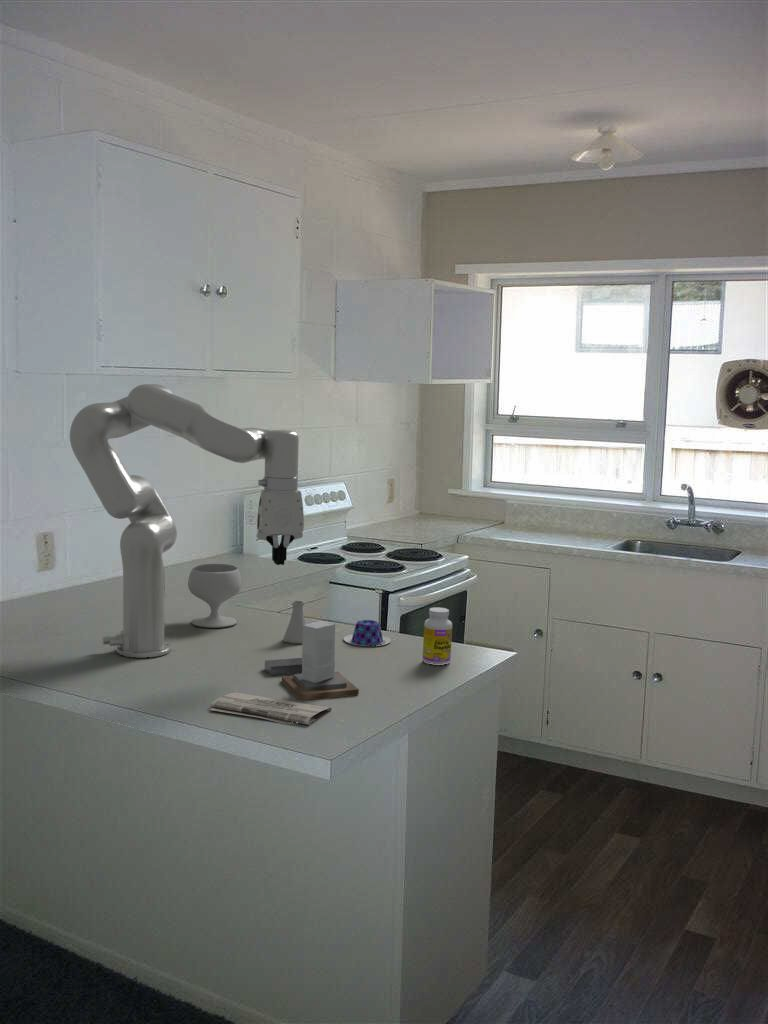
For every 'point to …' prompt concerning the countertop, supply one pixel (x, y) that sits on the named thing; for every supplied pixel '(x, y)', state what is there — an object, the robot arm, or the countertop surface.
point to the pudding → (367, 634)
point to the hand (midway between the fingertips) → (279, 563)
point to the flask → (295, 624)
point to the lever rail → (284, 666)
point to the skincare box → (318, 651)
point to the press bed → (319, 687)
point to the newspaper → (267, 708)
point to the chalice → (214, 591)
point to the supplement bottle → (437, 637)
